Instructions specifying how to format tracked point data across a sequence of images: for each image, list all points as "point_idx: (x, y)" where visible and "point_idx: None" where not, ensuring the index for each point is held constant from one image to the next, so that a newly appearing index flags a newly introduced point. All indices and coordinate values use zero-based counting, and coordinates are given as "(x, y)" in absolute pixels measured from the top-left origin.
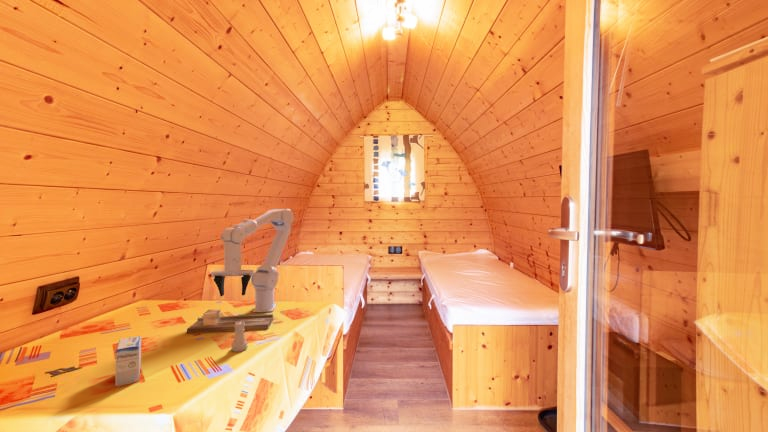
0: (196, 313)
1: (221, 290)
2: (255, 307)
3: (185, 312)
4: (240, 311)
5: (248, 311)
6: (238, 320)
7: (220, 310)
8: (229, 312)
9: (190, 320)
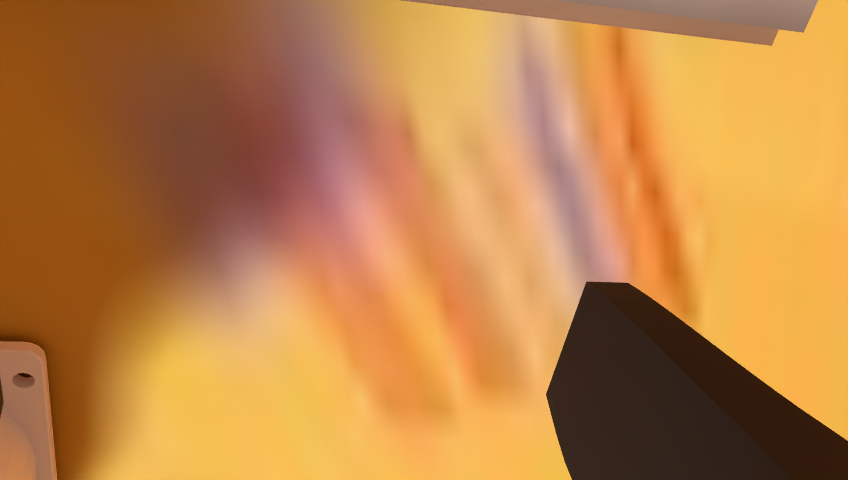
0: None
1: (684, 383)
2: (10, 448)
3: None
4: (249, 414)
5: (131, 403)
6: None
7: None
8: (388, 395)
9: (821, 183)
